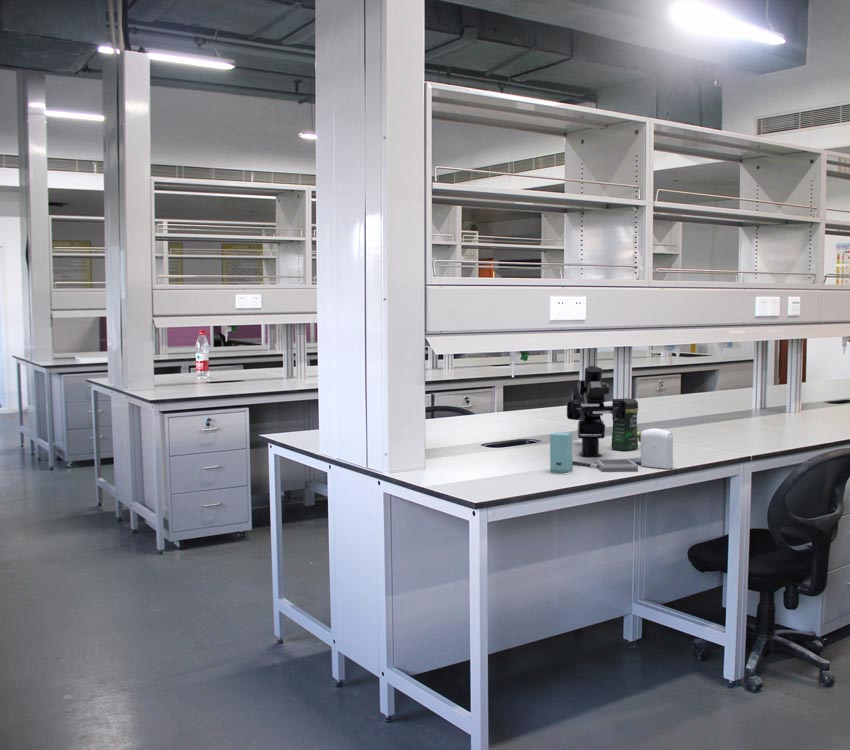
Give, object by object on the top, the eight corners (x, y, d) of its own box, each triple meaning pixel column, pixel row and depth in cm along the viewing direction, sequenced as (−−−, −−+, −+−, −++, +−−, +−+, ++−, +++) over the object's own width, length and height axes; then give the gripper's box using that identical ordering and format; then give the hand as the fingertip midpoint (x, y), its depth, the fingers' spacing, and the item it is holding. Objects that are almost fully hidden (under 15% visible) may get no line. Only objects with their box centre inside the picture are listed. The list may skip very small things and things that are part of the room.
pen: (562, 462, 267) (562, 459, 267) (565, 462, 268) (565, 459, 268) (596, 468, 256) (596, 465, 256) (599, 467, 257) (599, 464, 257)
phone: (598, 463, 265) (598, 460, 264) (636, 461, 268) (636, 457, 268) (608, 467, 258) (608, 463, 258) (647, 464, 261) (647, 461, 261)
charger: (555, 470, 255) (555, 432, 254) (572, 471, 252) (572, 433, 251) (550, 472, 250) (549, 434, 249) (567, 474, 247) (567, 435, 247)
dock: (594, 465, 261) (594, 459, 261) (629, 465, 261) (629, 459, 261) (602, 471, 250) (602, 465, 250) (637, 471, 250) (637, 465, 250)
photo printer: (638, 466, 258) (638, 428, 258) (644, 464, 262) (645, 426, 261) (668, 470, 251) (668, 430, 251) (674, 468, 255) (675, 429, 254)
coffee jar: (626, 452, 287) (626, 400, 285) (608, 449, 292) (607, 398, 291) (642, 448, 293) (642, 398, 292) (623, 446, 299) (623, 396, 298)
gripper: (565, 378, 268) (569, 396, 253) (622, 377, 266) (630, 395, 251) (565, 409, 272) (569, 428, 257) (621, 408, 270) (628, 427, 255)
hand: (599, 419), depth 255 cm, fingers open, 9 cm apart
